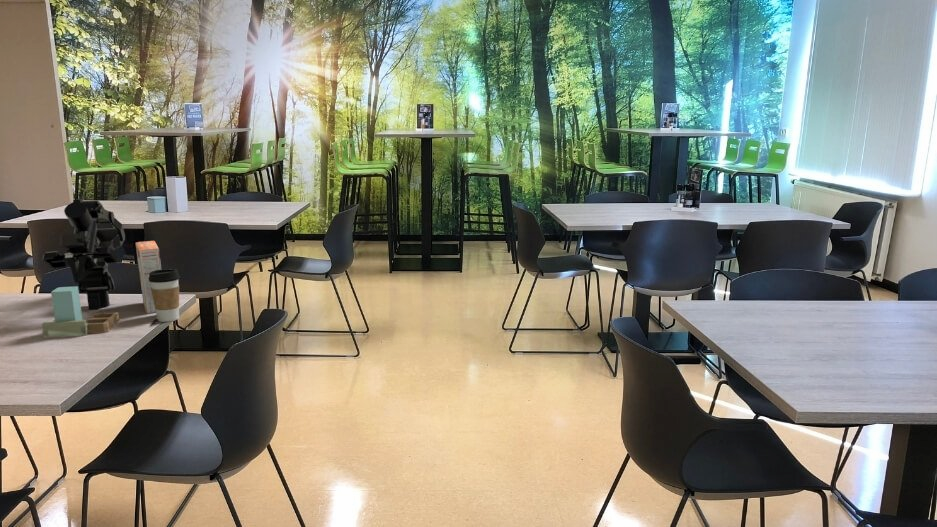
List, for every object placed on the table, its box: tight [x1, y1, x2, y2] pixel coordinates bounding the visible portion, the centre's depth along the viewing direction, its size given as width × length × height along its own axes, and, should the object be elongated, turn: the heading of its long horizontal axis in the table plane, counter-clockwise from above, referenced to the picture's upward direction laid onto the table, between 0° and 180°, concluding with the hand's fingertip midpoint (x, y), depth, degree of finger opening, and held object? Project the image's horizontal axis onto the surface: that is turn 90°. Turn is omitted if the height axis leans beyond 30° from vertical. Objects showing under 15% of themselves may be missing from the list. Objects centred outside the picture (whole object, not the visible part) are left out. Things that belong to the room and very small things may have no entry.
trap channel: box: [41, 311, 120, 339], centre depth 184 cm, size 14×15×5 cm
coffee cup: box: [149, 268, 180, 323], centre depth 194 cm, size 8×8×15 cm
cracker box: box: [135, 240, 162, 314], centre depth 203 cm, size 14×6×21 cm, turn 30°
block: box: [50, 285, 83, 322], centre depth 180 cm, size 5×5×12 cm
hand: (76, 282), depth 187 cm, fingers closed
